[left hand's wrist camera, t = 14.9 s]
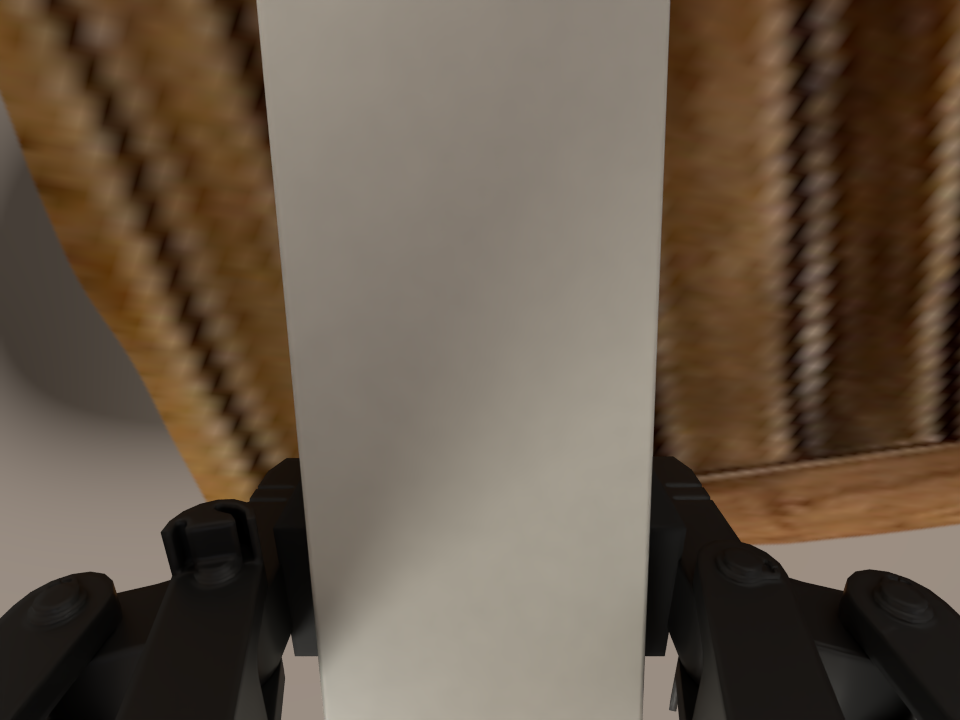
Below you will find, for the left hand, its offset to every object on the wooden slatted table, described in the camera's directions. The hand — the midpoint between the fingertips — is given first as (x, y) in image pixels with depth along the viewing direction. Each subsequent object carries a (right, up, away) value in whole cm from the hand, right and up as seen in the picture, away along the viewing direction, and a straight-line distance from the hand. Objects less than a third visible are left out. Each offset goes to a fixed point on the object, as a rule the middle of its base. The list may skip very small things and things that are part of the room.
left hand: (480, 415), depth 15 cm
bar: (0, +8, 0) cm, 8 cm away
